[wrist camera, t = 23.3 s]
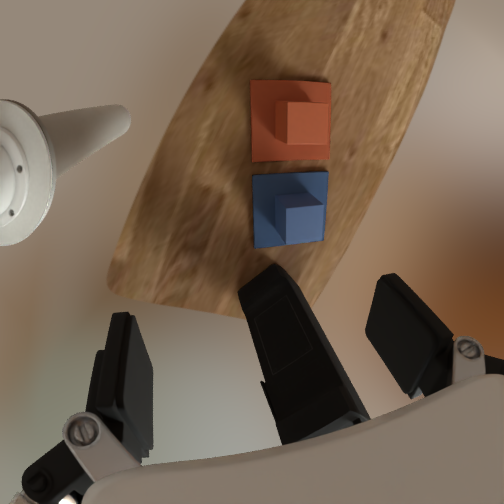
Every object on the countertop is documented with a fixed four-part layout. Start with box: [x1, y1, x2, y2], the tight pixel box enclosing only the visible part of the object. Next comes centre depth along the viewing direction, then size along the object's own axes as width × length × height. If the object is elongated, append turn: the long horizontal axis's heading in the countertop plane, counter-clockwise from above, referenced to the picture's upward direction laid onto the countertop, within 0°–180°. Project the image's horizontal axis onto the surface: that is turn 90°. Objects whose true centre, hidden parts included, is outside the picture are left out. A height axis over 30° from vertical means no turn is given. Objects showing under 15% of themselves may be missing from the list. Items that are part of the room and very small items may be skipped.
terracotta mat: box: [250, 80, 331, 162], centre depth 31 cm, size 9×9×1 cm
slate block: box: [275, 192, 324, 245], centre depth 34 cm, size 4×4×4 cm
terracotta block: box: [275, 101, 329, 145], centre depth 29 cm, size 4×4×4 cm
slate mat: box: [252, 171, 329, 249], centre depth 36 cm, size 9×9×1 cm
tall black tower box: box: [238, 264, 371, 445], centre depth 30 cm, size 8×6×25 cm
